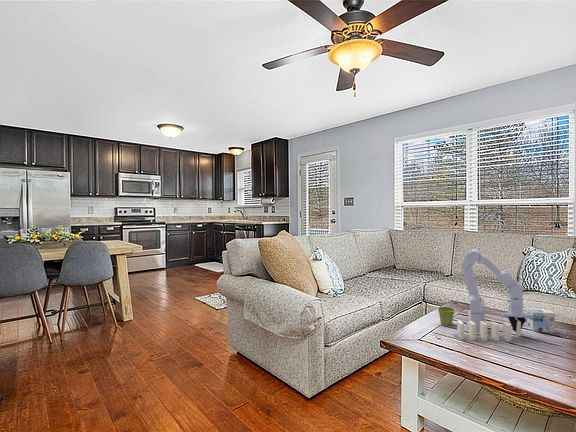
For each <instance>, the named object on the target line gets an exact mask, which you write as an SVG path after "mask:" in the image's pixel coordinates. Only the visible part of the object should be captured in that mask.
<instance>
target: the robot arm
mask: <svg viewBox="0 0 576 432" xmlns="http://www.w3.org/2000/svg"><path fill="white" fill-rule="evenodd" d="M475 263H478V264H482V265H485V267H487V268H488V269H489V270H490V271H491V272H493V273H494V274H495V275H496V279H497V280H498V281H499V282H500V283H501V284H503V285H504V286H505V287H506V288H507V289H508V291H509V293H510V294H509V311H508V312H500V317H501V318H507V319H508V320H509V322H510V323H509V324H510V325H511V330H512V332H513V331H515V332H516V324H517V320H516V319H518V320H519V321H521V330H522V328H523V326H524V324H525V323H527V322H526V321H527V318H533V315H532V314H528V313H526V312H524V297H523V296H524V294H523V292H524V286H523V284H522V283H521V282H519V280H517V279H515V278H513V276H511V273H510V272H507V271H503V270H501V269H500V268H499V267H498V266H497V265H496V264H495V263H494V262H493V261H492V260H491V259H490V258H489V257H488V256H486V254H485V253H483V252H482V251H481V250H480V249H477V248H473V249H471V250H470V251H468V252H467V253H466V254H465V255H464V258H463V260H462V263H461V270H462V273H463V275H464V280H465V283H466V284H465V285H466V287H467V291H468V295H469V311H468V313H467V318H468V319H467V321H472V322H473V323H475V324H476V330H477V331H480V321H483V322H484V323H486V316H485V315H486V314H485V313H486V312H485V311H484V308H485V306H486V305H485V302H484V301H485V300H483V299H482V296H481V295H480V292H479V290H478V289H479V288H478V285H477V282H476V278H475V275H474V271H473V265H474V264H475ZM466 325H467V326H468V327H469V323H468V322H466ZM488 330H489V329H488V328H487V331H488Z"/></svg>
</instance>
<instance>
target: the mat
mask: <svg viewBox="0 0 576 432" xmlns="http://www.w3.org/2000/svg"><path fill="white" fill-rule="evenodd" d="M451 335H452V336H453V337H454V339H456V340H457V341H465V342H466V341H467V342H468V341H469V342H489V343H490V342H492V343H514V344H516V343H517V344H531V342H530V341H528V340H527V339H526V338H525V337H523V336H512V335H511V341H507V340H506V339H505V338H503V335H499V341H496V340H495V339H493V338H492V337H491V335H488V334H487V340H483V339H482V338H481V337H480V334H476V340H472V339H471V338H470V337H469V334H464V339H460V338H459V336H458V333H452V334H451Z"/></svg>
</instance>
